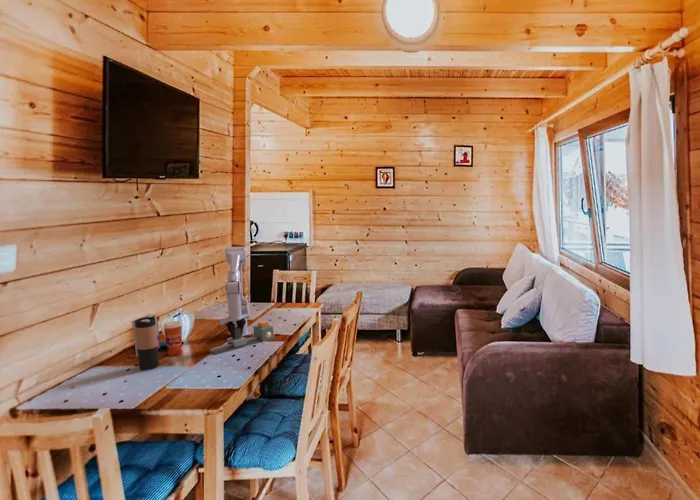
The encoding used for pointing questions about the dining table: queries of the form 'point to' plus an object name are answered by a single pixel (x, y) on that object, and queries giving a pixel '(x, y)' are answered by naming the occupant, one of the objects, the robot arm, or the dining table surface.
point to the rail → (231, 346)
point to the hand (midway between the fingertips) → (236, 336)
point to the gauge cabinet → (264, 333)
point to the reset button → (263, 324)
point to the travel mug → (147, 343)
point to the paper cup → (173, 337)
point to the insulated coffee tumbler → (156, 331)
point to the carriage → (237, 338)
